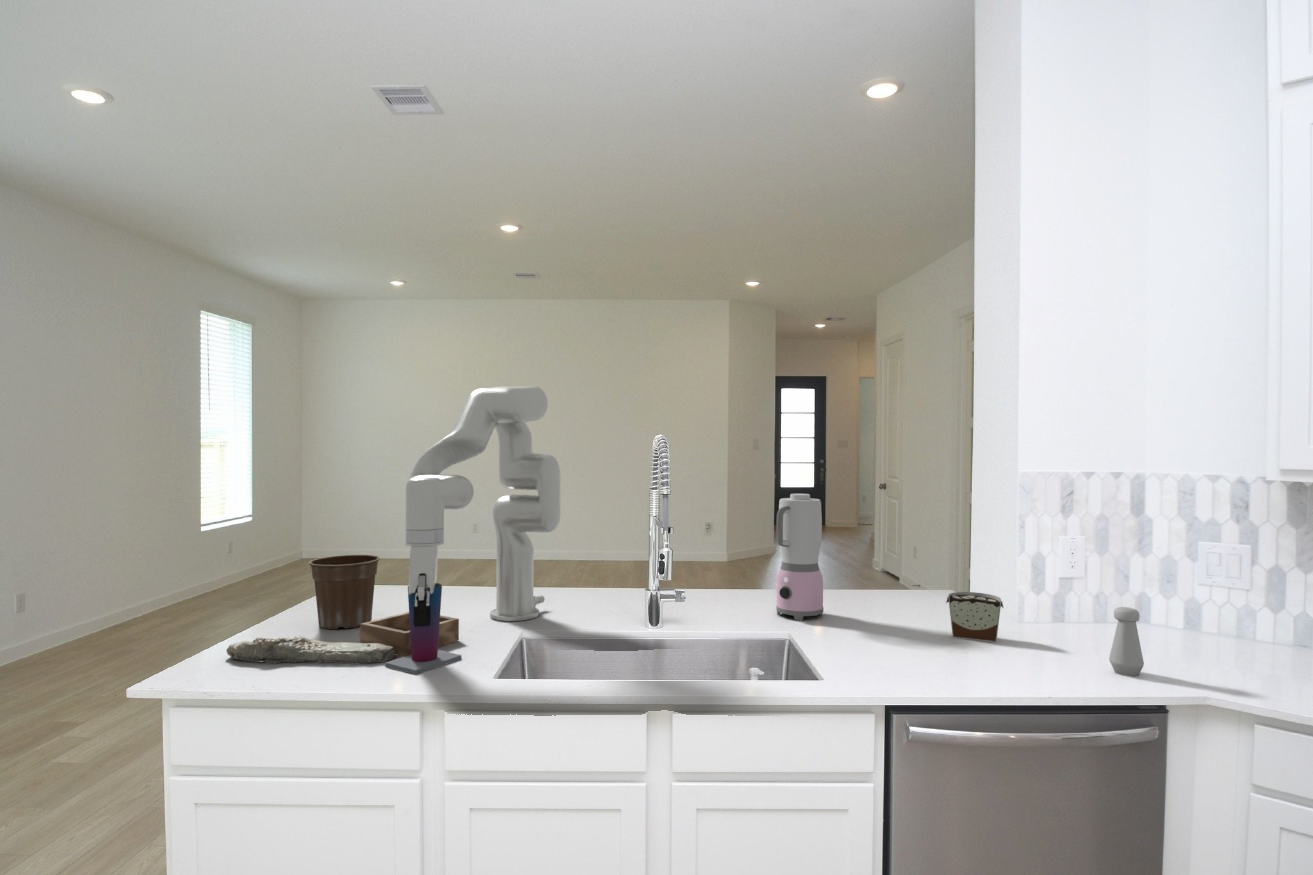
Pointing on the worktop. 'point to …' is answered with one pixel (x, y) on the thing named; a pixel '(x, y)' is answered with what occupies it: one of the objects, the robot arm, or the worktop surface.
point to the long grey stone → (309, 651)
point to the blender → (799, 556)
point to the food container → (974, 615)
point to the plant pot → (344, 589)
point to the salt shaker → (1126, 643)
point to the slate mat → (418, 667)
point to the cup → (425, 628)
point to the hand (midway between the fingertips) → (424, 619)
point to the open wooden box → (404, 632)
